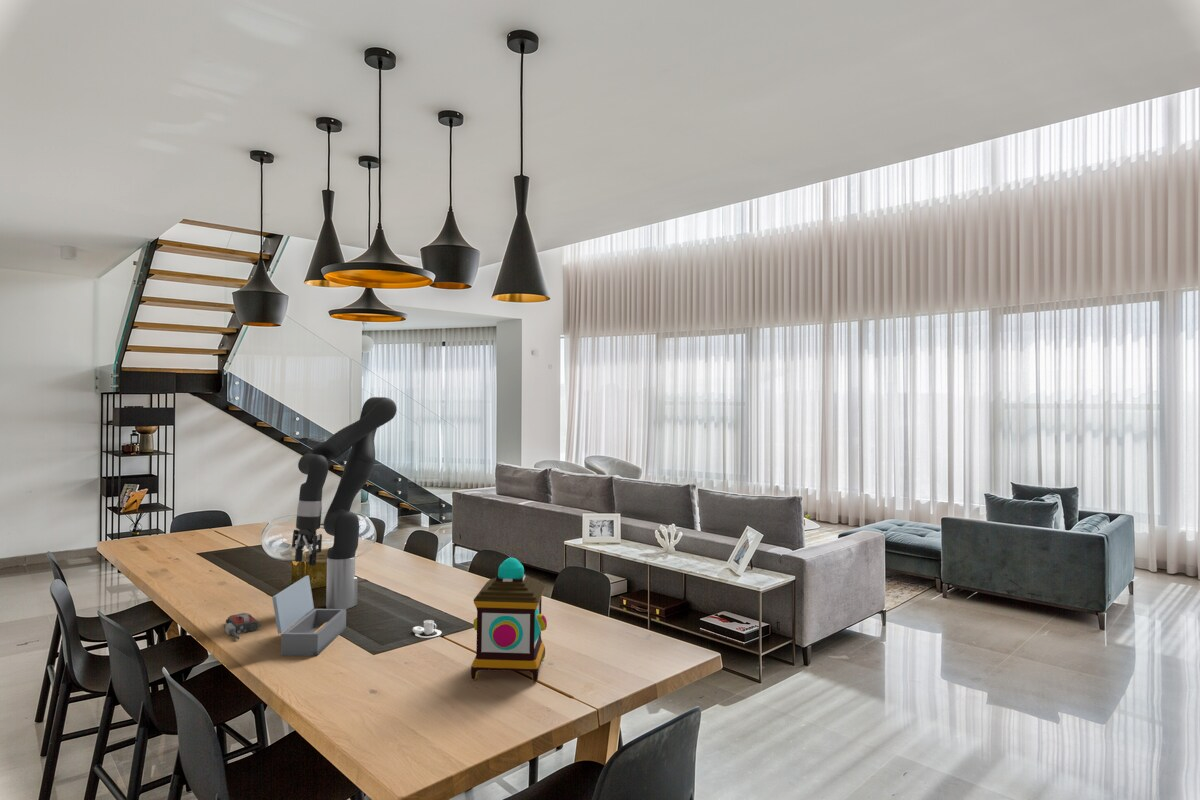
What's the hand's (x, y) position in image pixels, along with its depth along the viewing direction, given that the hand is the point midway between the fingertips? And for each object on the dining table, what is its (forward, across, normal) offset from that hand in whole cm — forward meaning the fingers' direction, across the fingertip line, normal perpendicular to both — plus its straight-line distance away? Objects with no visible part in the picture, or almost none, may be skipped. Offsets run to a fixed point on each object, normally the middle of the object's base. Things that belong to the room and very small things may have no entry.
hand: (305, 563), depth 231 cm
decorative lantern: (+17, -85, -12) cm, 87 cm away
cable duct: (+18, -26, +9) cm, 33 cm away
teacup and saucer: (+17, -43, -18) cm, 49 cm away
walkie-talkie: (+19, 0, +19) cm, 27 cm away
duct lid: (+7, -21, +14) cm, 26 cm away
